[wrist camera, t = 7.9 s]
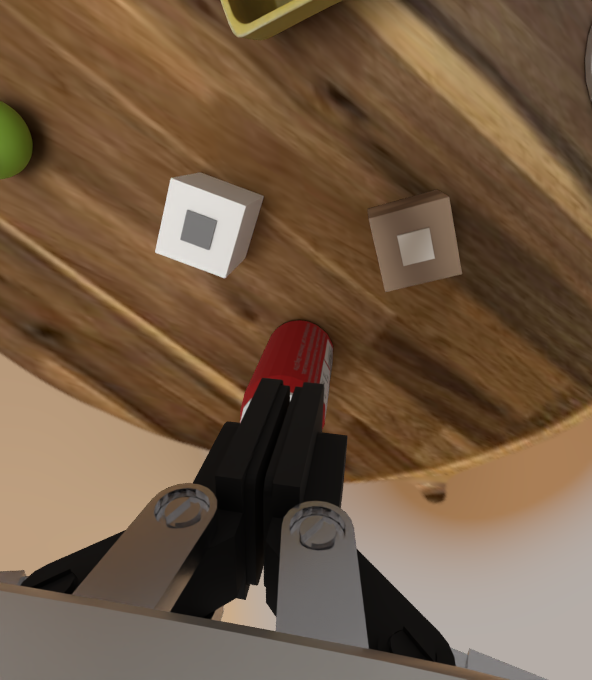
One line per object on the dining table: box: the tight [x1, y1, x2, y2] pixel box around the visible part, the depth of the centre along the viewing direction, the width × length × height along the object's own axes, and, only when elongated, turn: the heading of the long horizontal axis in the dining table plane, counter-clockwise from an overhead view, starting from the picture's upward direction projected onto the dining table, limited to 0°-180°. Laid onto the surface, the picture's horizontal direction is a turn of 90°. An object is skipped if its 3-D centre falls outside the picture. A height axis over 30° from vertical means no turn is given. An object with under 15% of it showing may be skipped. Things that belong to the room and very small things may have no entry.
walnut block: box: [368, 190, 462, 292], centre depth 32 cm, size 5×5×5 cm
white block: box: [155, 173, 264, 278], centre depth 33 cm, size 5×5×6 cm
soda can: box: [240, 320, 333, 429], centre depth 34 cm, size 6×6×12 cm
